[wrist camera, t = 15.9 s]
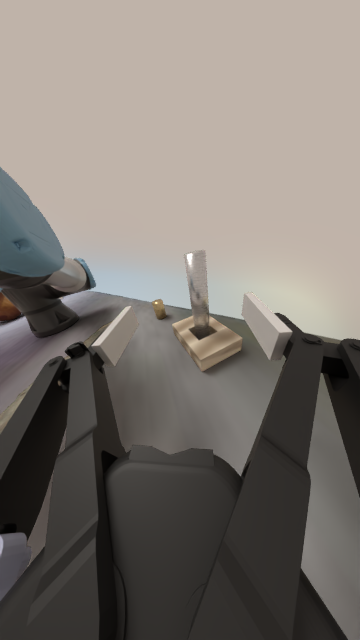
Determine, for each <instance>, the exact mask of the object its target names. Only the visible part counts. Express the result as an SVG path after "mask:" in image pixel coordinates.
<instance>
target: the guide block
mask: <svg viewBox="0 0 360 640" xmlns="http://www.w3.org/2000/svg"><path fill="white" fill-rule="evenodd" d="M209 321H210V336H207V337H205V338H203V339H201V340H198V339H197V338H196V335H195V328H194V321H193V316H191V317H189V318H186V319H184V320H181V321H179V322H177V323H174V324H172V326H173V330H174V334H175V336H176V337H177V338H178V340H179V341H180V342H181V344H182V345H183V347H184V348H185V349H186V351H187V352H188V353H189V355H190V356H191V357H192V359H193V360H194V362H195V363H196V364H197V366H198V367H199V368H200V370H201V371H202V372H203V371H204V370H206V369H208V368H210V367H212V366H213V365H215V364H217V363H219V362H220V361H222V360H224V359H226V358H228V357H229V356H231V355H233V354H235V353H237V352H238V351H240V350H241V345H242V337H240V336H239V335H237V334H236V333H234V332H233V331H231V330H230V329H228V328H227V327H225V326H224V325H222V324H221V323H219V322H218V321H216V320H215V319H214V318H212V317H211V316H209Z"/></svg>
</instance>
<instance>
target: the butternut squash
mask: <svg viewBox="0 0 360 640" xmlns="http://www.w3.org/2000/svg"><path fill="white" fill-rule="evenodd" d="M19 315H21V312H20V311H19V310H18V309H17V308H16V307H15V306H14V305H13V304H12V303H11V302H10V301H9V300H8V299H7V298H6V297H5V296H4V295H3V294H2V293H1V292H0V321H5V320H8V321H10V320H13V319H16V318H17V317H18V316H19Z"/></svg>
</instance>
